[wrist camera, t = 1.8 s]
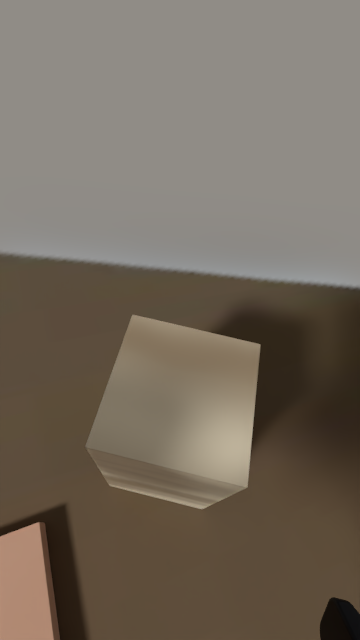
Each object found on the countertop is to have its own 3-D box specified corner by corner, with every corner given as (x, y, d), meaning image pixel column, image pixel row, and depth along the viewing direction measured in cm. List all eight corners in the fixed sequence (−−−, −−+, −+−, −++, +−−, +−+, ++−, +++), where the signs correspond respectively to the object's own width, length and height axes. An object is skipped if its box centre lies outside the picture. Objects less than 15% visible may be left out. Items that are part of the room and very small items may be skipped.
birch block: (202, 509, 19) (247, 487, 11) (109, 485, 20) (85, 447, 11) (216, 416, 22) (260, 344, 14) (136, 397, 23) (132, 314, 14)
